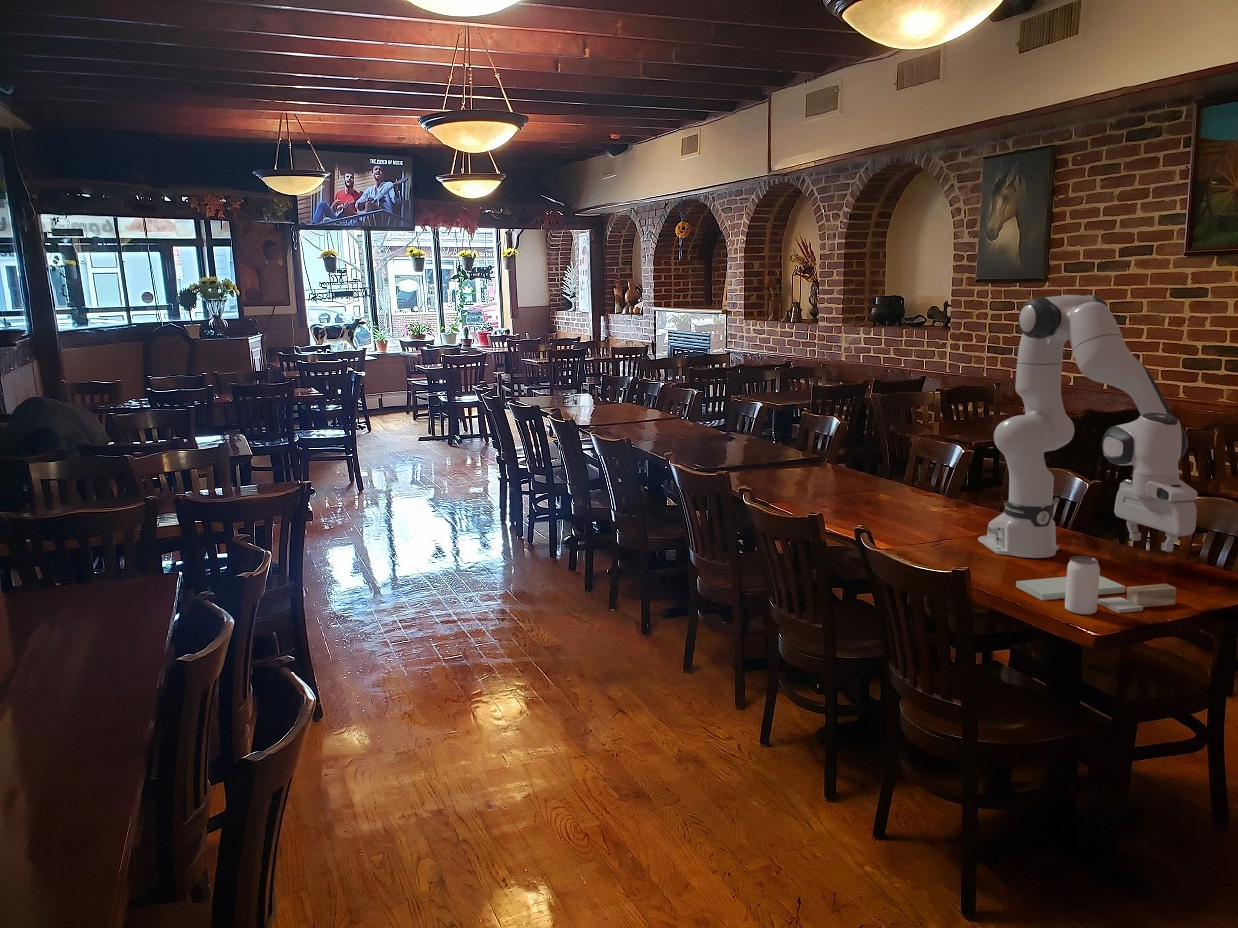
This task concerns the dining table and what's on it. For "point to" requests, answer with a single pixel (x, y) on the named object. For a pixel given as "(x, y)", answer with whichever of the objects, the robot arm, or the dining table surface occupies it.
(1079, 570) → the can
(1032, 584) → the rest board
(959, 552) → the dining table surface
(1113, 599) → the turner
